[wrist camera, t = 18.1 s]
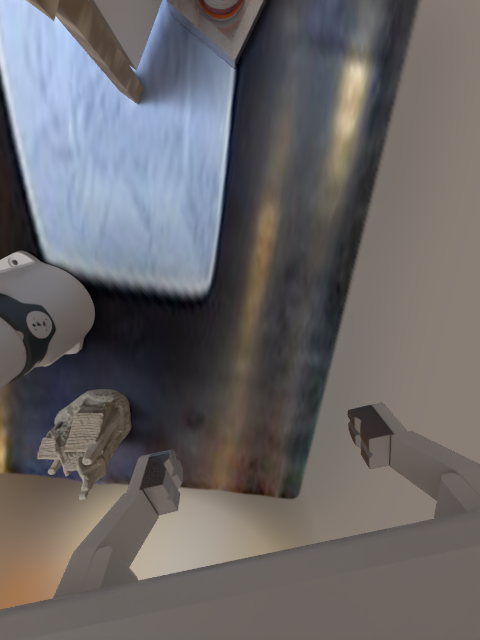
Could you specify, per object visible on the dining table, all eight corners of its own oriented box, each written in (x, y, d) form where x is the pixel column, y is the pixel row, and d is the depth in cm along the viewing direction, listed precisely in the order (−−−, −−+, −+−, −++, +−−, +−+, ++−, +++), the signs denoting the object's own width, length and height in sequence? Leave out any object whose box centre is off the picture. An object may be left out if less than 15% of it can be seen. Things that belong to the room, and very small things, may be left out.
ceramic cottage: (135, 393, 51) (95, 461, 37) (129, 446, 58) (94, 520, 44) (57, 377, 50) (-14, 442, 36) (61, 433, 56) (2, 506, 43)
